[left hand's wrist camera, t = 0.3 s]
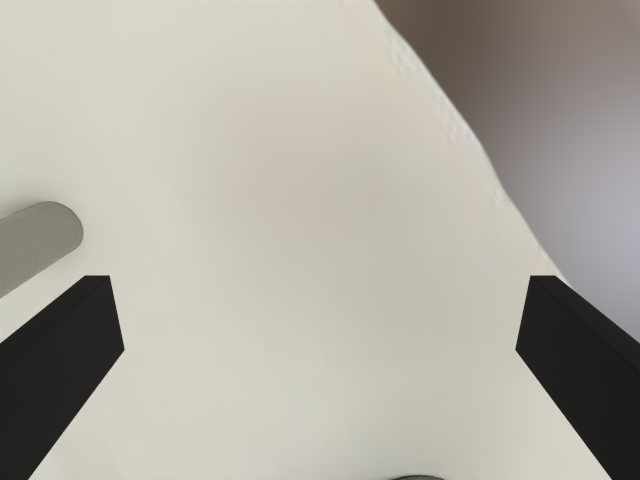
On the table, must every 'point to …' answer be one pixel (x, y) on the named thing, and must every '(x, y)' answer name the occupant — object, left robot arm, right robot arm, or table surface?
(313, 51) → the table surface
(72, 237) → the jar
